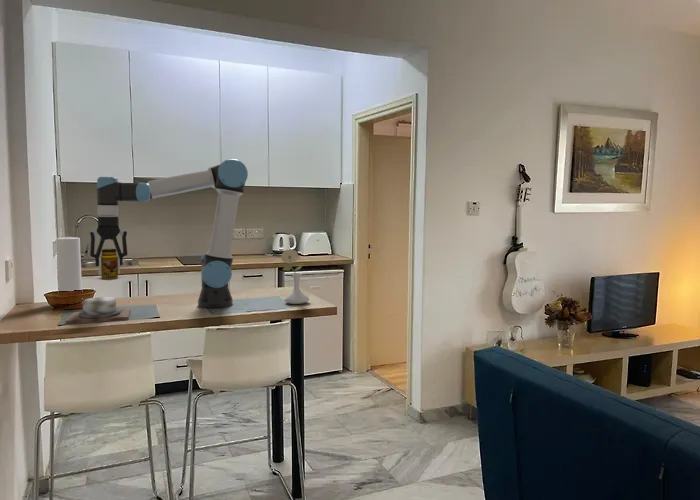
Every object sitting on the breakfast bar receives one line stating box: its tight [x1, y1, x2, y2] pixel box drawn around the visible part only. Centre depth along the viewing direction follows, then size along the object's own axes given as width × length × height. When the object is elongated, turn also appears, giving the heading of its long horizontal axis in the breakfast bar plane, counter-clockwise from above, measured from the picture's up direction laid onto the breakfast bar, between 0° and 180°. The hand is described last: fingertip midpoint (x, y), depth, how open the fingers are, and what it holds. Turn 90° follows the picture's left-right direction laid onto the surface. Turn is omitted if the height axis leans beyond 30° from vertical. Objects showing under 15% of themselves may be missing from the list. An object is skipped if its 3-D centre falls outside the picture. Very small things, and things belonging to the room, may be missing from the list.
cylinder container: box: [55, 236, 83, 292], centre depth 239 cm, size 9×9×30 cm
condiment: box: [95, 248, 121, 281], centre depth 210 cm, size 7×8×12 cm
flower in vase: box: [280, 248, 310, 305], centre depth 241 cm, size 13×11×25 cm
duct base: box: [65, 296, 132, 325], centre depth 211 cm, size 22×15×7 cm
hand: (109, 273), depth 211 cm, fingers closed on condiment, 6 cm apart
